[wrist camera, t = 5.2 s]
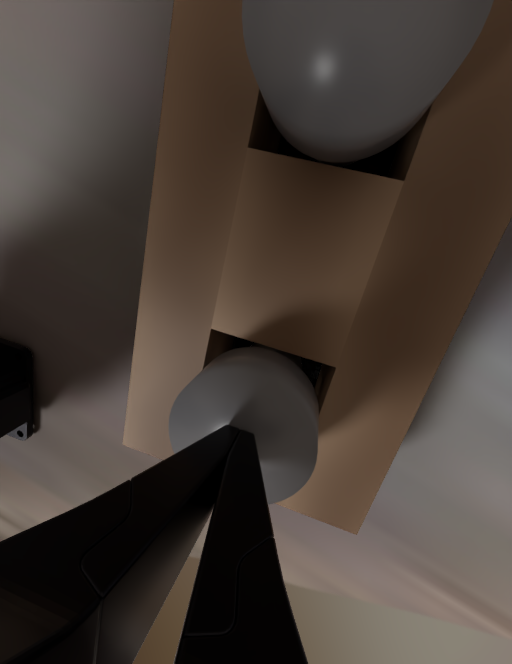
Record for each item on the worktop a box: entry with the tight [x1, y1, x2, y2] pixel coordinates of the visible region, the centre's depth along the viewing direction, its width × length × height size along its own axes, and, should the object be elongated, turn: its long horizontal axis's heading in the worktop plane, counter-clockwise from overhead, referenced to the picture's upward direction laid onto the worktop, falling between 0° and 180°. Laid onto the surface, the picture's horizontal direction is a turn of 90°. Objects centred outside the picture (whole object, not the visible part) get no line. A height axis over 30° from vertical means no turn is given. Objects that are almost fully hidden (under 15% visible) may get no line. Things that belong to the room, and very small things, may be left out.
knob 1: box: [168, 342, 319, 504], centre depth 11 cm, size 4×4×6 cm
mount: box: [123, 0, 512, 535], centre depth 11 cm, size 10×18×4 cm, turn 166°
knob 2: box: [242, 0, 494, 167], centre depth 8 cm, size 4×4×6 cm
